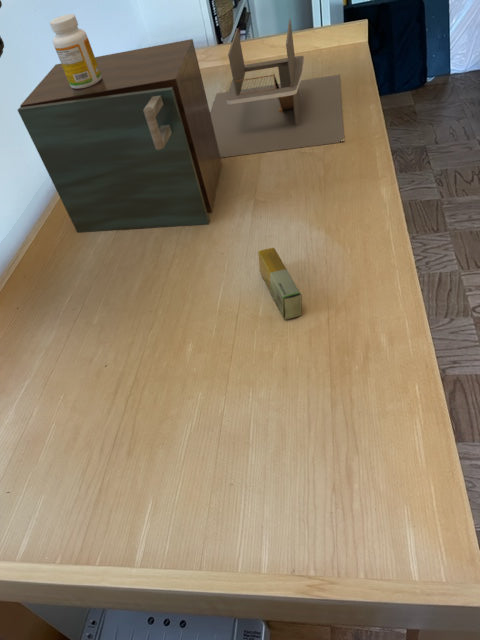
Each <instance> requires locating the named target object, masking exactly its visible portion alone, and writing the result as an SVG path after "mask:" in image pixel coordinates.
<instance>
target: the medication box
mask: <svg viewBox="0 0 480 640" xmlns="http://www.w3.org/2000/svg"><path fill="white" fill-rule="evenodd" d="M257 254H258V265H259V267H258V268H259V272H260V275H261V277H262V279H263V281H264V283H265V285H266V286H267V288H268V291H269V293H270V295H271V296H272V298H273V300H274V302H275V304H276V307H277V308H278V310H279V312H280V314H281V316H282V318H283V320H284V321H285V320H286V321H287V320H292V319H296V317H297V318H299V317H301V316H302V293H301V292H300V289H299V288H298V286H297V284H296V283H295V281H294V279H293V278H292V275H291V274H290V273H289V271H288V269H287V267H286V266H285V263H284V262H283V261H282V258H281V257H280V256H279V253H278V252H277V250H276V248H275V247H270V248H269V247H268V248H264V249H261V250H258V253H257ZM300 315H301V316H300Z"/></svg>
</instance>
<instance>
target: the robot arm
mask: <svg viewBox="0 0 480 640" xmlns="http://www.w3.org/2000/svg"><path fill="white" fill-rule="evenodd" d="M2 6H3V3H2V0H0V9H1V8H2ZM3 40H4V39H3V38H2V37H1V35H0V58H2V56H3V54H4V48H5V43H4V41H3Z"/></svg>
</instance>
